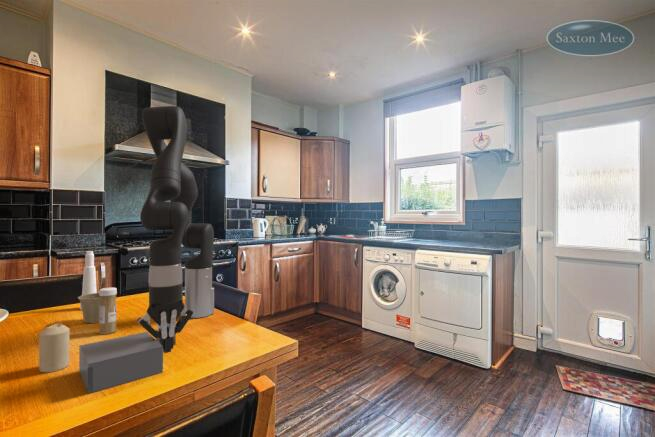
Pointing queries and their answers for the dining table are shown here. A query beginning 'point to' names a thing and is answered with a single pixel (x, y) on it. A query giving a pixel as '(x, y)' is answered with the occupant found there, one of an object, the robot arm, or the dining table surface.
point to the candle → (54, 348)
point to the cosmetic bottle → (89, 275)
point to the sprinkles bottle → (107, 310)
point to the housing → (119, 361)
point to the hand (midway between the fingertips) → (166, 351)
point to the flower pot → (90, 307)
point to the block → (173, 339)
